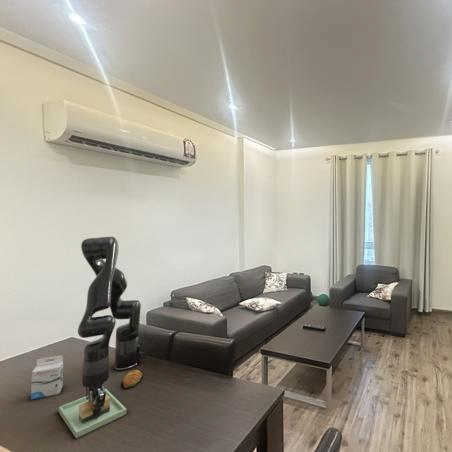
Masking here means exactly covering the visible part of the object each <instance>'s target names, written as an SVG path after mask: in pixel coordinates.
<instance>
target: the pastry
mask: <svg viewBox="0 0 452 452" xmlns="http://www.w3.org/2000/svg"><path fill="white" fill-rule="evenodd" d="M142 376H143V373H142V372H141V371H140V370H138V369H133V370H131V371H128V372H127V373H126V375H125V376H124V377H123V379H122V385H123V388H124V389H126V388H131V387H135V386H136V385H137V384H138V383H139V381H140V380H141V378H142Z"/></svg>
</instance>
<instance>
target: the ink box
mask: <svg viewBox="0 0 452 452" xmlns="http://www.w3.org/2000/svg"><path fill="white" fill-rule="evenodd" d="M63 381H64V355H63V354H61V355H60V354H59V355H53V356H48V357H42V358H37V359H36V366H35V367H34V369H33V370H32V371H31V384H30V385H31V387H30V400H31V401H32V400H33V401H34V400H38V399H41V398H46V397H50V396H51V397H52V396H55V395H59V394H61V391H62V390H63V385H64V384H63Z"/></svg>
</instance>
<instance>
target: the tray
mask: <svg viewBox="0 0 452 452" xmlns="http://www.w3.org/2000/svg"><path fill="white" fill-rule="evenodd" d="M104 392H106V394H107V395H108V396H109V397H110V411H108V412H106V413H104V414H101V416H99V417H97V418H95V419H94V418H93V419H90V420H88V421H86V422H84V423H82V422H81V421H80V419H79V405H81V404H83V403H86V402H88V400H87V399H86V396H84V397H81V398H78V399H76V400H73V401H71V402H67V403H65V404H63V405H60V406H59V407H58V414H59V415H60V416H61V418H62V419H63V421H64V423H65V424H66V426H67V427H68V429H69V430H70V432H71V433H72V435H73V436H74V438H75V439H77V438H78V439H79V437H81V436H85V435H86V434H88V433H90V432H92V431H94V430H96V429H99V428H100V427H102V426H105V425H107V424H108V423H111V422H113V421H115V420H117V419H119V418H121V417H123V416H125V415H127V407H125V405H123V403H121V402H120V401H119V400H118V399H117V398H116V397H115V396H114V395H113V394H112V393H111V392H110V390H108V388H104V390H103V393H104Z"/></svg>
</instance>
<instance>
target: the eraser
mask: <svg viewBox="0 0 452 452" xmlns="http://www.w3.org/2000/svg"><path fill="white" fill-rule="evenodd" d="M108 411H110V397H109V396H108V395H107V394H106V397H105V403H104V406H102V407H101V414H104V413H106V412H108ZM79 419H80V421H81V422H82V423H84V422H86V421H88V420H90V419H93V403H91V401H88V402H86V403H83V404H81V405H79Z"/></svg>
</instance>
